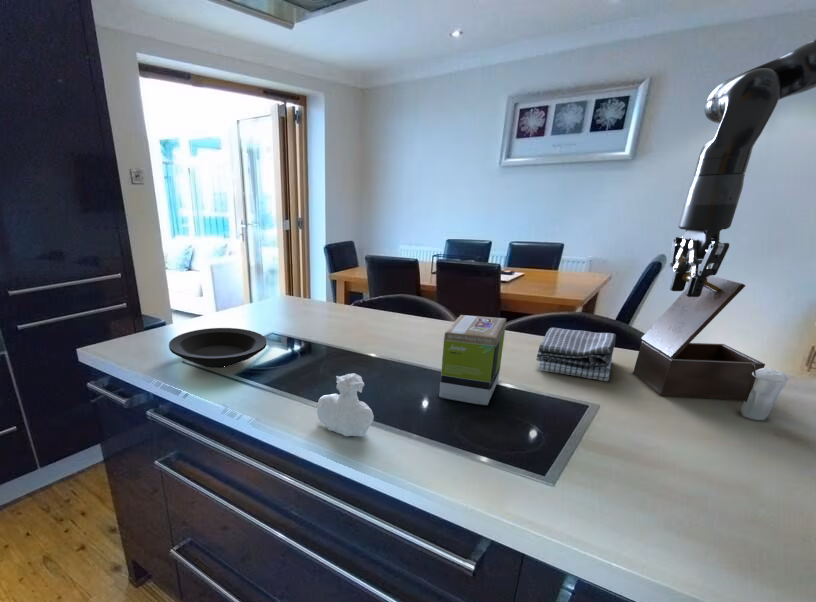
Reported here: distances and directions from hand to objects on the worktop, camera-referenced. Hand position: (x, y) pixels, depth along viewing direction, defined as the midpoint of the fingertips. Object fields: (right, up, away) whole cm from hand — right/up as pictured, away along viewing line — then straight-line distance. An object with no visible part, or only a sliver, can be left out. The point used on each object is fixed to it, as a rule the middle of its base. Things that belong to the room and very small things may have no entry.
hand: (684, 293), depth 88 cm
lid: (+2, -4, +1) cm, 5 cm away
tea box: (-40, -20, +8) cm, 45 cm away
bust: (-68, -27, -6) cm, 73 cm away
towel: (-10, -14, +20) cm, 26 cm away
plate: (-99, -12, +30) cm, 104 cm away
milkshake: (+7, -24, -6) cm, 26 cm away
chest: (+6, -19, +6) cm, 21 cm away
